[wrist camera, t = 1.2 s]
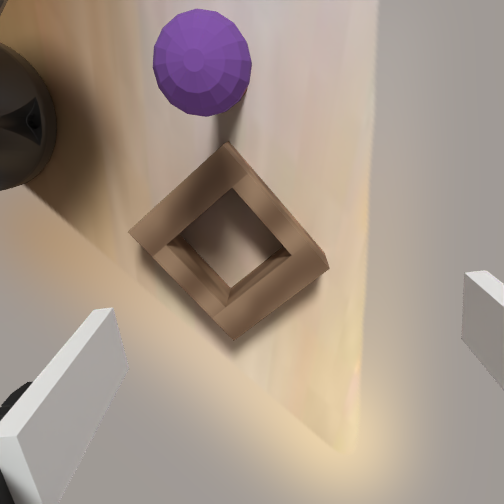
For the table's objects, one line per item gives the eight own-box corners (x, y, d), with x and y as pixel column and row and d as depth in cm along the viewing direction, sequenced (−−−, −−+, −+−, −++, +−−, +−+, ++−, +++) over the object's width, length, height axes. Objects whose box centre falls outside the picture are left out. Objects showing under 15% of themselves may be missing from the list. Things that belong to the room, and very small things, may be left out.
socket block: (142, 219, 47) (127, 231, 42) (228, 141, 44) (222, 144, 39) (237, 319, 50) (233, 340, 46) (324, 252, 47) (329, 268, 42)
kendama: (218, 124, 43) (172, 135, 24) (191, 67, 42) (120, 32, 23) (271, 97, 42) (266, 87, 23) (245, 38, 41) (217, -25, 22)
